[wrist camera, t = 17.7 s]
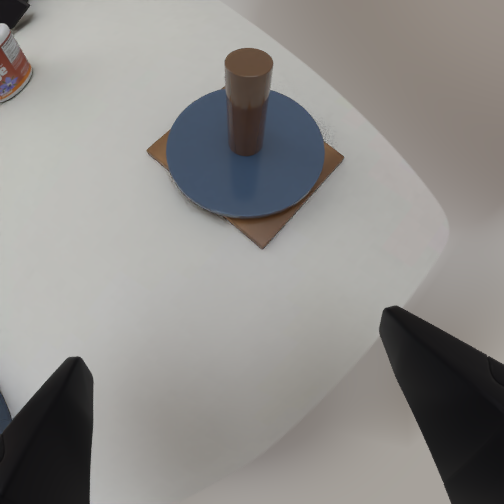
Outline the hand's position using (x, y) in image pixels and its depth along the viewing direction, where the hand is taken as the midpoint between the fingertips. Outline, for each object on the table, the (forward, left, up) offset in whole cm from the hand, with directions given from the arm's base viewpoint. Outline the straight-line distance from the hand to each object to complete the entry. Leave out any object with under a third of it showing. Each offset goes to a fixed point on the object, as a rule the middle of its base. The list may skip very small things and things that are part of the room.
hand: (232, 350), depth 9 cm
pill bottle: (+39, -2, -13) cm, 41 cm away
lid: (+9, -11, -11) cm, 18 cm away
